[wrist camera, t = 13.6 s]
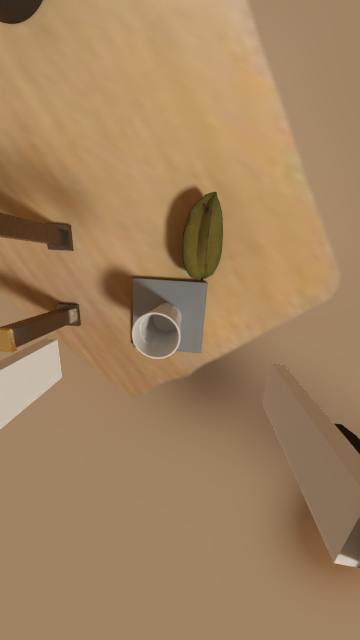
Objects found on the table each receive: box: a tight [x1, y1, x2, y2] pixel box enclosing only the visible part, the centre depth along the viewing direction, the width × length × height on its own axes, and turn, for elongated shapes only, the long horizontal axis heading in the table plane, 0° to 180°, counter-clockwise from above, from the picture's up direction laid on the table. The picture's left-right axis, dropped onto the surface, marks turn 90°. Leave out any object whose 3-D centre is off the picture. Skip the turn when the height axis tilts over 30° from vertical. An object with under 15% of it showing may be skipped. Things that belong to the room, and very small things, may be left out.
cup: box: [132, 303, 181, 359], centre depth 36 cm, size 8×8×12 cm
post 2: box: [0, 303, 81, 352], centre depth 37 cm, size 5×5×17 cm
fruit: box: [183, 192, 223, 280], centre depth 35 cm, size 11×12×7 cm
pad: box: [132, 278, 208, 353], centre depth 43 cm, size 16×16×1 cm
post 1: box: [0, 213, 73, 251], centre depth 33 cm, size 5×5×17 cm
